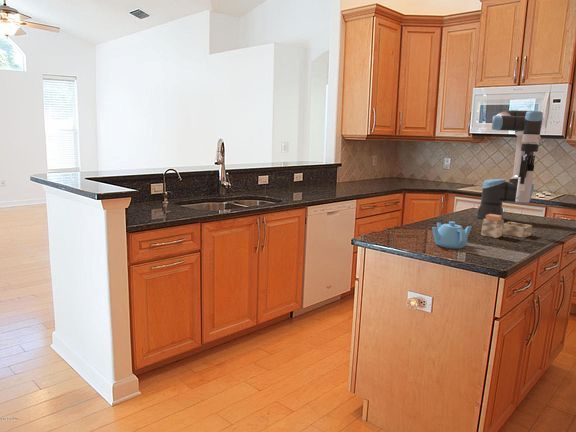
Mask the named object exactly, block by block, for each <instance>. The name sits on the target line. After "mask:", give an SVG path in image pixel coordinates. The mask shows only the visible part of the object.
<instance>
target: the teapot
mask: <svg viewBox="0 0 576 432" xmlns="http://www.w3.org/2000/svg"><path fill="white" fill-rule="evenodd" d="M472 227H473V226H470V225H468V226H466V227H465V229H464V228H463V226H462V225H461V224H460V225H459V224H456V221H451V220H450V221H448V223H443V224H442V223H441V222H436V226H432V227H431V230H432V237H433V240H434V244H436V245H437V246H439V247H442V248H446V249H457V250H458V249H463V248H464V247H465V246H466V245H467V244H468V237H469V236H470V233H471V230H472Z"/></svg>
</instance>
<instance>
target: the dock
mask: <svg viewBox="0 0 576 432" xmlns="http://www.w3.org/2000/svg"><path fill="white" fill-rule="evenodd" d="M532 229H533V225H532V224H528V223H527V224H525V223H519V222H514V221H507V222H505V220H504V219H503V220H501V221H498V222H497V221H491V220H485V219H482V223H481V231H480V236H483V237H484V236H485V237H489V238H495V239H497V238H499V237H502V236H503V235H505V236H510V237H511V236H512V237H517V238H523V239H525V238H527V237H530V236H532Z"/></svg>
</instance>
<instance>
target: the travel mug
mask: <svg viewBox="0 0 576 432" xmlns="http://www.w3.org/2000/svg"><path fill="white" fill-rule="evenodd" d="M527 165H528V170H527V174H526V186H525V191H520V190H519V183H520V177H519V178H518V185H517V193H516V200H515V203H514V204H516V205H517V204H518V205H525V206H527V205H529V204H530V202H529V200H530V201H531V199H530V193H531V186H532V184H533V179H534V173H535V171H534V170H535V164H534V165H529V164H527ZM520 166H521V165H520Z"/></svg>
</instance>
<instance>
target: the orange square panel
mask: <svg viewBox="0 0 576 432" xmlns="http://www.w3.org/2000/svg"><path fill="white" fill-rule="evenodd" d="M501 218H502V216H501V215H495V214H488V215H486V218H485V220H491V221H497V222H498V221H501Z"/></svg>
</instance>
